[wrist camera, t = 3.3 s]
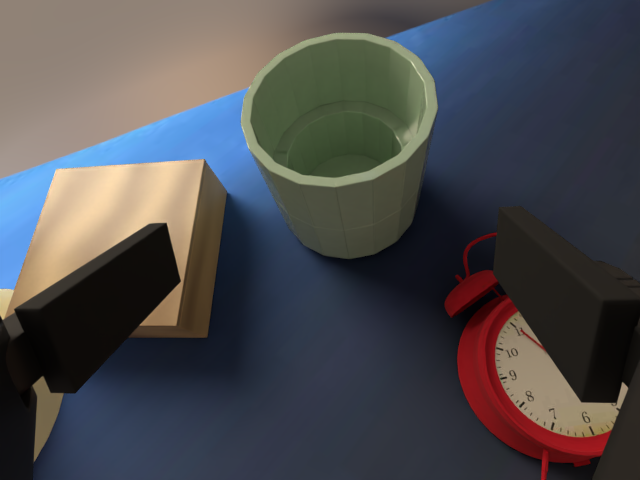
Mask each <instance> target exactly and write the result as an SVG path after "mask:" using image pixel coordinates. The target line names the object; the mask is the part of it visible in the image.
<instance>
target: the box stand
mask: <svg viewBox="0 0 640 480" xmlns="http://www.w3.org/2000/svg"><path fill="white" fill-rule="evenodd" d="M226 196H227V191H226V189H225V188H224V186H223V185H222V184H221V182H220V181H219V179H218V178H217V176H216V175H215V174H214V172H213V171H212V169H211V168H210V167H209V165H208V164H207V163H206V161H205V159H199V160H184V161H169V162H154V163H139V164H124V165H109V166H94V167H80V168H65V169H56V172H55V174H54V177H53V180H52V183H51V186H50V189H49V192H48V195H47V197H46V200H45V203H44V206H43V209H42V212H41V215H40V217H39V220H38V223H37V226H36V229H35V232H34V235H33V238H32V240H31V243H30V246H29V249H28V252H27V255H26V258H25V260H24V263H23V266H22V269H21V272H20V275H19V278H18V280H17V283H16V286H15V289H14V292H13V295H12V298H11V301H10V303H9V306H8V309H7V312H6V315H5V318H7V317H8V316H10V315H11V314H13V313H14V312H15V311H14V309H15V308H16V307H18V306H19V305H21V304H23V303H24V302H26V301H27V300H29V299H31V298H32V297H34V296H35V295H37V294H38V293H40V292H42V291H43V290H45V289H46V288H48V287H50V286H51V285H53V284H54V283H56V282H57V281H59V280H61V279H62V278H64V277H65V276H67V275H69V274H70V273H72V272H73V271H75V270H76V269H78V268H80V267H81V266H83V265H84V264H86V263H88V262H89V261H91V260H92V259H94V258H96V257H97V256H99V255H100V254H102V253H103V252H105V251H107V250H108V249H110V248H111V247H113V246H115V245H116V244H118V243H119V242H121V241H122V240H124V239H126V238H127V237H129V236H130V235H132V234H134V233H135V232H137V231H138V230H140V229H141V228H143V227H145V226H146V225H148V224H149V223H167V226H168V230H169V234H170V238H171V243H172V247H173V251H174V255H175V259H176V263H177V267H178V271H179V275H180V279H181V282H180V283H179V284H178V285H177V286H176V287H175V288H174V289H173V291H172V292H171V293H170V294H169V295H168V296H167V297H166V298H165V299H164V300H163V301H162V302H161V303H160V304H159V305H158V306H157V307H156V308H155V310H154V311H153V312H152V313H151V314H150V315H149V316H148V317H147V318H146V319H145V320H144V321H143V322H142V323H141V324H140V325H139V326H138V327H137V329H136V330H135V331H134V332H133V333H132V334H131V335H130V336H129V337H128V338H207V336H208V329H209V321H210V314H211V307H212V299H213V292H214V284H215V277H216V270H217V262H218V255H219V247H220V240H221V233H222V225H223V218H224V211H225V203H226ZM5 318H4V319H5Z"/></svg>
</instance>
